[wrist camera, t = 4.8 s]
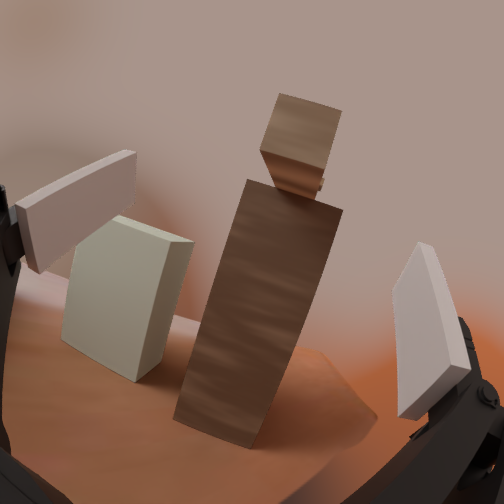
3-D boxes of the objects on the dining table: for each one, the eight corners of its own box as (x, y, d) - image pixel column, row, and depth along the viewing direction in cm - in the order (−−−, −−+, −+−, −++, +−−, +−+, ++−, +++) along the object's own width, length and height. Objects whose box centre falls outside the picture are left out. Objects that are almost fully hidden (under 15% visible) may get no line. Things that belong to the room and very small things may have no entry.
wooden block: (204, 376, 47) (263, 198, 45) (263, 398, 46) (329, 220, 44) (172, 418, 33) (247, 178, 31) (250, 449, 32) (343, 209, 30)
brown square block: (280, 206, 48) (290, 175, 47) (312, 216, 47) (321, 186, 47) (251, 147, 18) (276, 78, 18) (333, 172, 17) (353, 100, 17)
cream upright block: (93, 326, 49) (118, 214, 47) (161, 361, 47) (195, 242, 45) (60, 339, 40) (85, 210, 38) (135, 382, 38) (170, 241, 36)
